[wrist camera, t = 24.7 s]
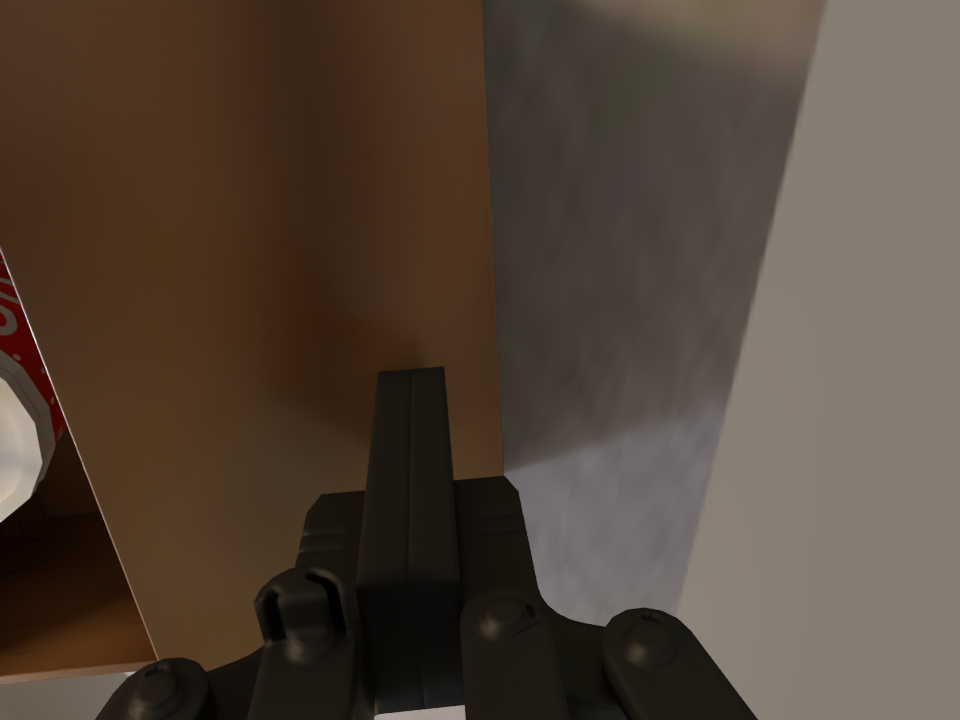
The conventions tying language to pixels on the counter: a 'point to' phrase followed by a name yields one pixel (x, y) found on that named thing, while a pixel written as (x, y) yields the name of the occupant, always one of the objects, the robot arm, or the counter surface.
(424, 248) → the flap
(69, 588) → the brown open-topped box
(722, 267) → the counter surface
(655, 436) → the counter surface
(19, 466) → the beverage cup
